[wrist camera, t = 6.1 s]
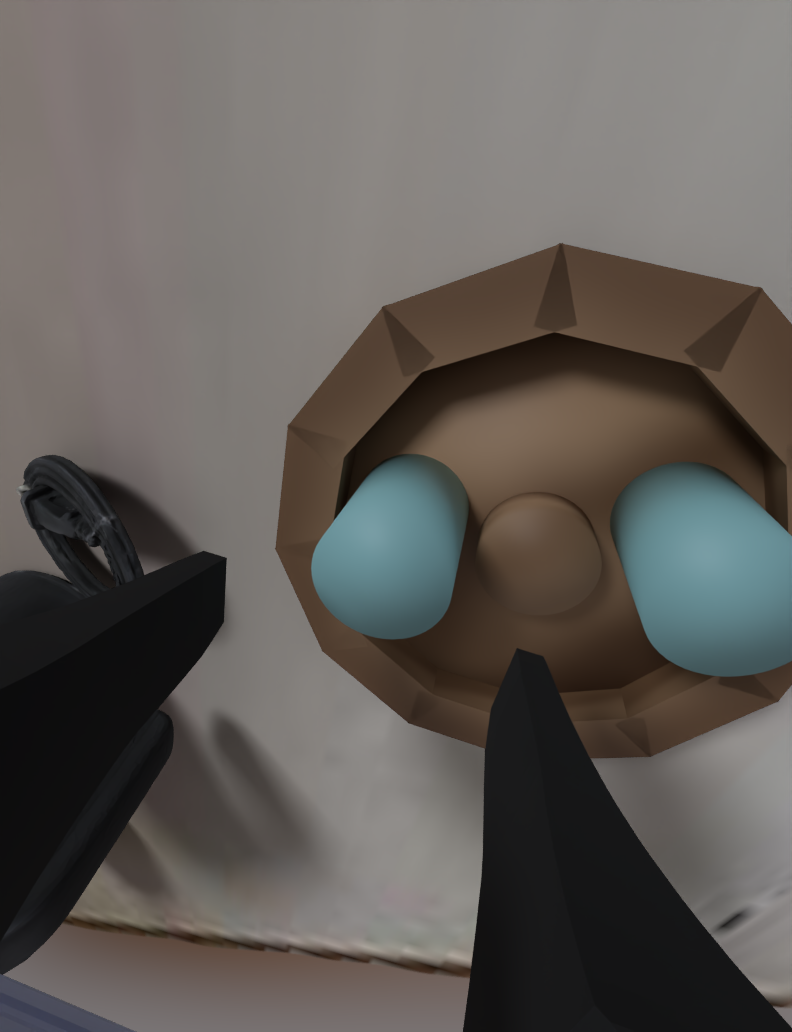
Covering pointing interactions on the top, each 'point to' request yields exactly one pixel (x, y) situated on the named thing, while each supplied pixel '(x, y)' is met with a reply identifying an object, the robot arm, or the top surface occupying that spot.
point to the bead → (394, 549)
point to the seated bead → (706, 570)
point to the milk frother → (89, 516)
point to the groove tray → (547, 479)
